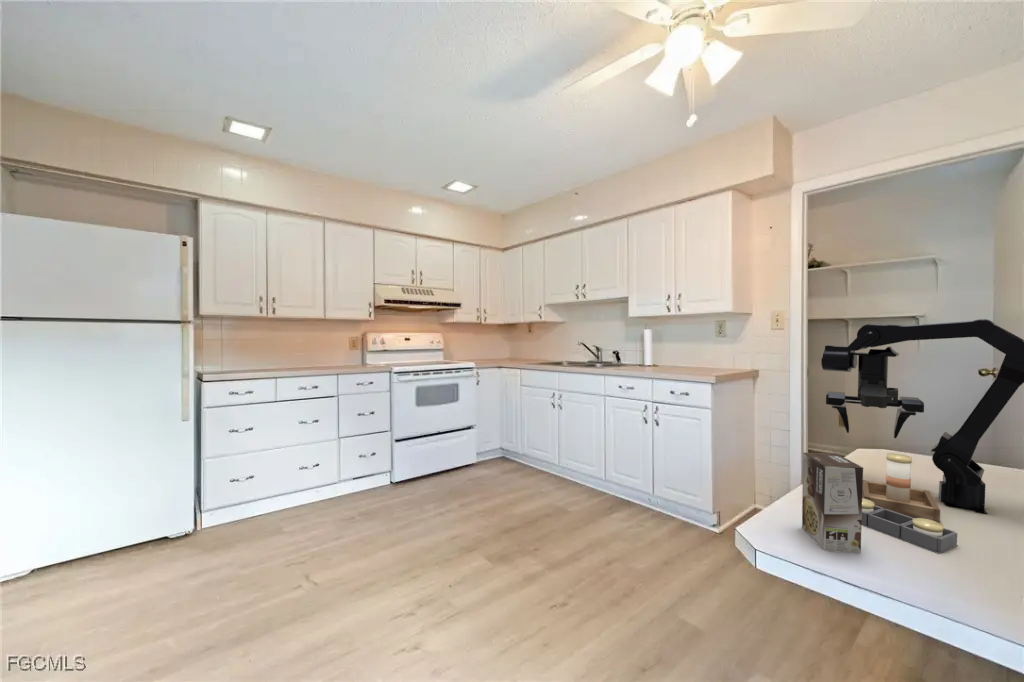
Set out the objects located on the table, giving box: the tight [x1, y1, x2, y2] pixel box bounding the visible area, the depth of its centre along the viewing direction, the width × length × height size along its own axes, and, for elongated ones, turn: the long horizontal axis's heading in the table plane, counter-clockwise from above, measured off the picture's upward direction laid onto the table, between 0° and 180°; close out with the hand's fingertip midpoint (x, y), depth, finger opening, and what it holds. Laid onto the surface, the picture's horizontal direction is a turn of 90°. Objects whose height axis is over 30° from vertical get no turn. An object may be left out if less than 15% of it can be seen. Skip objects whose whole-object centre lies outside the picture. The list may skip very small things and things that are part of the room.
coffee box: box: [801, 452, 864, 554], centre depth 83 cm, size 9×6×16 cm
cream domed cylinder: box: [862, 498, 874, 513], centre depth 92 cm, size 4×4×4 cm
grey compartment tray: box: [862, 505, 959, 555], centre depth 87 cm, size 17×7×3 cm, turn 24°
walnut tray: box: [862, 479, 941, 524], centre depth 97 cm, size 12×12×4 cm
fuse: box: [912, 518, 944, 538], centre depth 82 cm, size 4×4×4 cm
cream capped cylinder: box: [885, 452, 913, 503], centre depth 97 cm, size 4×4×11 cm
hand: (870, 435), depth 110 cm, fingers open, 9 cm apart
